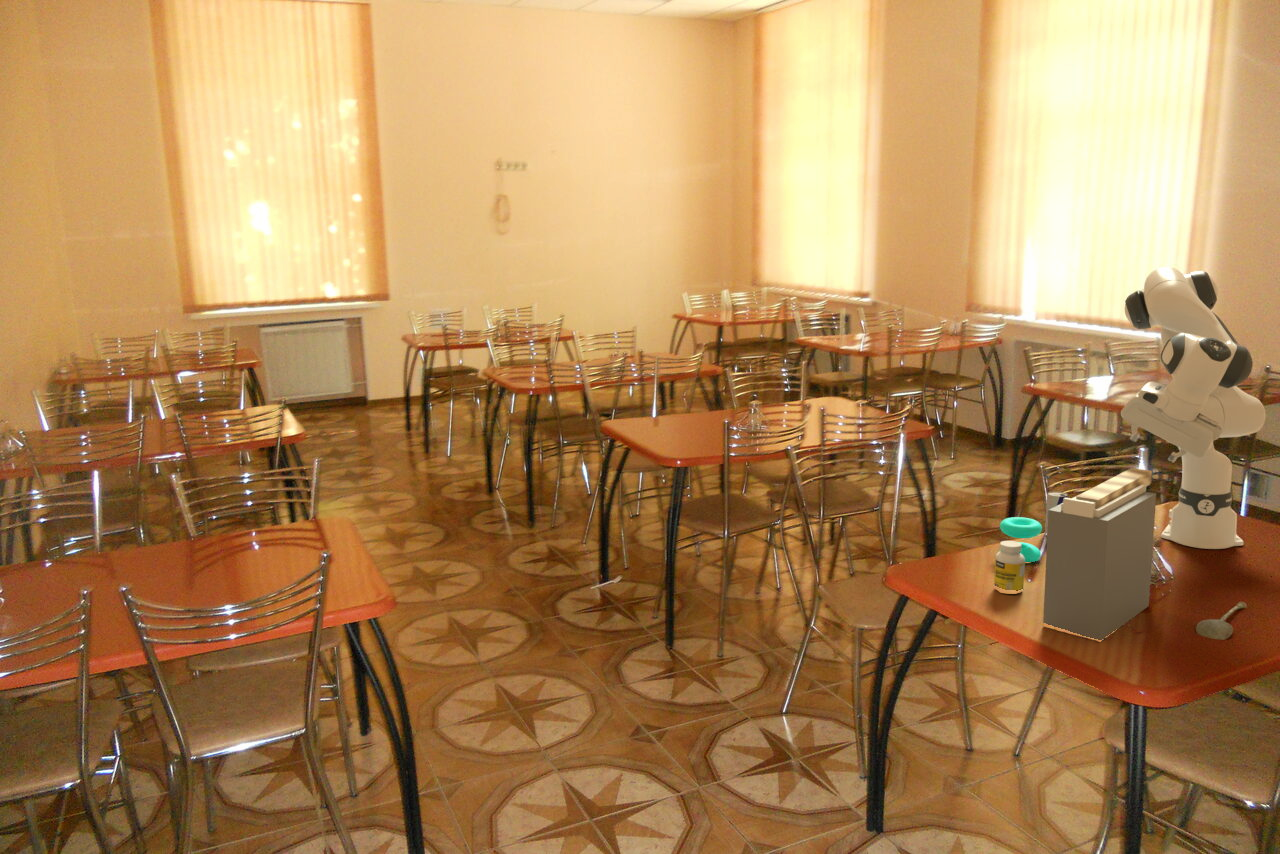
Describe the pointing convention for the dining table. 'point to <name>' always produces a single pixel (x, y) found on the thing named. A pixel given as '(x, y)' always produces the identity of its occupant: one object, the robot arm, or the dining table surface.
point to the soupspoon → (1218, 625)
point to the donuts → (1023, 535)
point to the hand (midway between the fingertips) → (1151, 449)
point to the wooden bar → (1116, 486)
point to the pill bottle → (1009, 566)
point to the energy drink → (1053, 503)
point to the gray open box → (1099, 562)
